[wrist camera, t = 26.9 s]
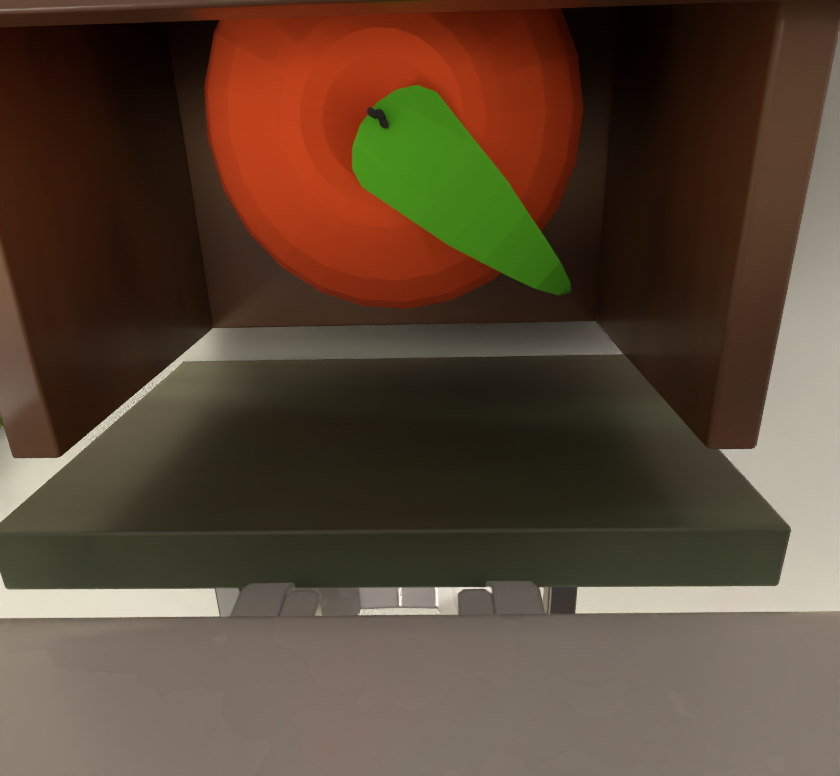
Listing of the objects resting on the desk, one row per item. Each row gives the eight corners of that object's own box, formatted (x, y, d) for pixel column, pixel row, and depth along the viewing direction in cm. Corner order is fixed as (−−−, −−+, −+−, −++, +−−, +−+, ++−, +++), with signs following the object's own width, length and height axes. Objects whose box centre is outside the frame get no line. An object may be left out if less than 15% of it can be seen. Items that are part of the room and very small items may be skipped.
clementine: (638, 143, 15) (799, 145, 8) (448, 348, 17) (456, 479, 10) (385, -119, 13) (333, -381, 7) (207, 145, 15) (31, 149, 9)
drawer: (611, 548, 21) (725, 813, 13) (217, 551, 21) (79, 808, 13) (718, -437, 12) (1309, -1645, 4) (47, -399, 12) (-682, -1410, 4)
